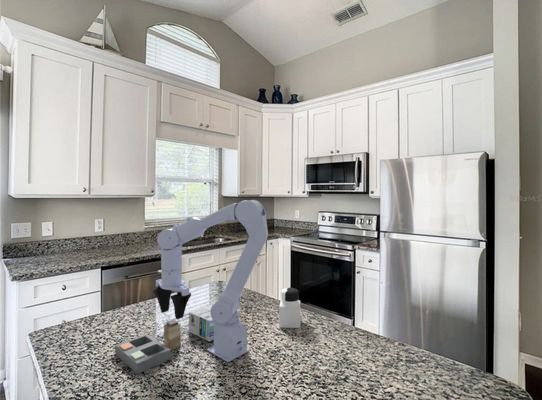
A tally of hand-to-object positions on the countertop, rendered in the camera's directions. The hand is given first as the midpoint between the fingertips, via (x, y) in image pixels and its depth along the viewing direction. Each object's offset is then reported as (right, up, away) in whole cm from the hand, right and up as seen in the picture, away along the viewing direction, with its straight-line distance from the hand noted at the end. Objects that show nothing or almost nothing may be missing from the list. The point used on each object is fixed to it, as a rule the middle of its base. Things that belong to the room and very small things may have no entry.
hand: (172, 314), depth 87 cm
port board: (-6, -9, -6) cm, 13 cm away
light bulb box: (+6, -6, +13) cm, 15 cm away
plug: (0, -9, 0) cm, 9 cm away
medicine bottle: (+36, -9, +15) cm, 40 cm away
